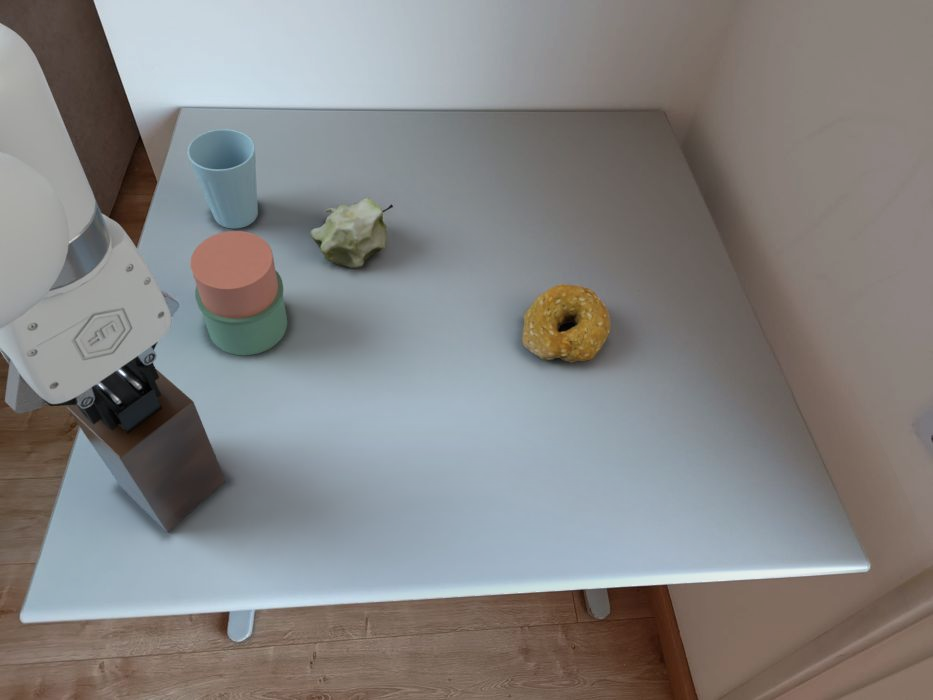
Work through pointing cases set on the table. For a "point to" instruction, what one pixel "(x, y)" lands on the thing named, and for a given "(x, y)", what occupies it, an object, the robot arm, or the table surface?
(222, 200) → the cup
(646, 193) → the table surface
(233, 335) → the cup stack
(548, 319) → the bagel
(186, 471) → the clip stand
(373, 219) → the fruit
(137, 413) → the clip
